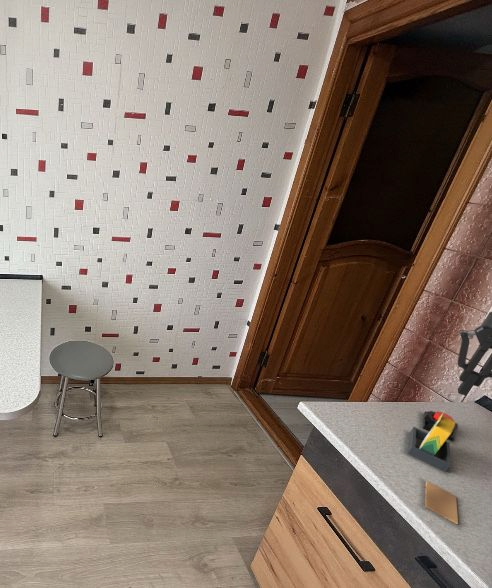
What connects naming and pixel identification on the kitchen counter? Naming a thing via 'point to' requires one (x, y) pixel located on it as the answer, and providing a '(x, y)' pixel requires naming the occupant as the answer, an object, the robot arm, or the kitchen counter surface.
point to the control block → (430, 422)
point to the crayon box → (437, 435)
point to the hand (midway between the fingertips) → (461, 392)
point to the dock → (426, 457)
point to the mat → (441, 502)
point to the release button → (438, 414)
